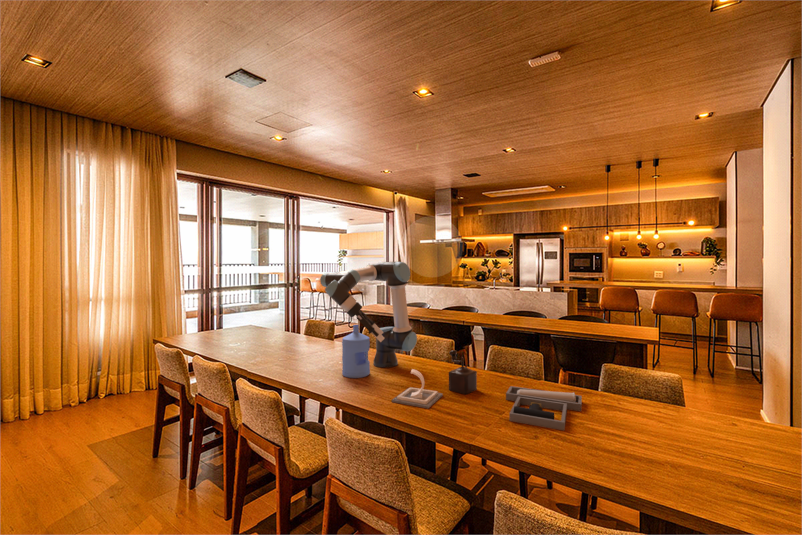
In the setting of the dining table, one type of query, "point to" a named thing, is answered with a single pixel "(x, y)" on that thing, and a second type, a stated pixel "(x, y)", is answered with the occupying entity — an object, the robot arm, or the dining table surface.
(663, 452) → the dining table surface
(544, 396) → the tube
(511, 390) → the tube rest frame
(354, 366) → the water jug
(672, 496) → the dining table surface
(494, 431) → the dining table surface
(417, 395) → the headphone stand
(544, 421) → the connector rest frame
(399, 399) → the coaster board
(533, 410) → the pipe connector
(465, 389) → the pepper mill
